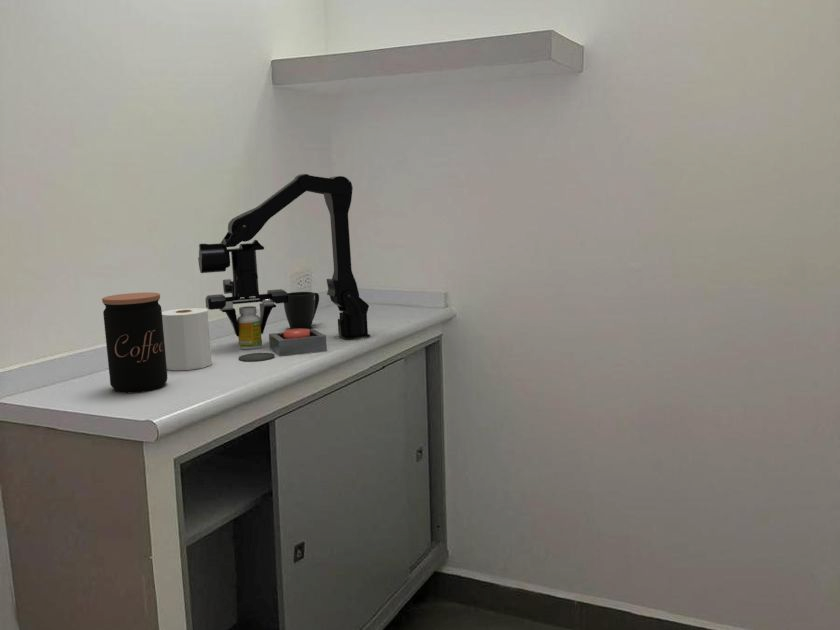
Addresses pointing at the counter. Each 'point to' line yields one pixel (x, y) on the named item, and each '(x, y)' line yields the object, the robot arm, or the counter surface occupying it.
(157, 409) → the counter surface
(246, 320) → the supplement bottle
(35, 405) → the counter surface
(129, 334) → the coffee jar
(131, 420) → the counter surface
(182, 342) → the toilet paper
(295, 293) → the mug
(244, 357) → the coaster
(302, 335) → the button
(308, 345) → the grey square tray
